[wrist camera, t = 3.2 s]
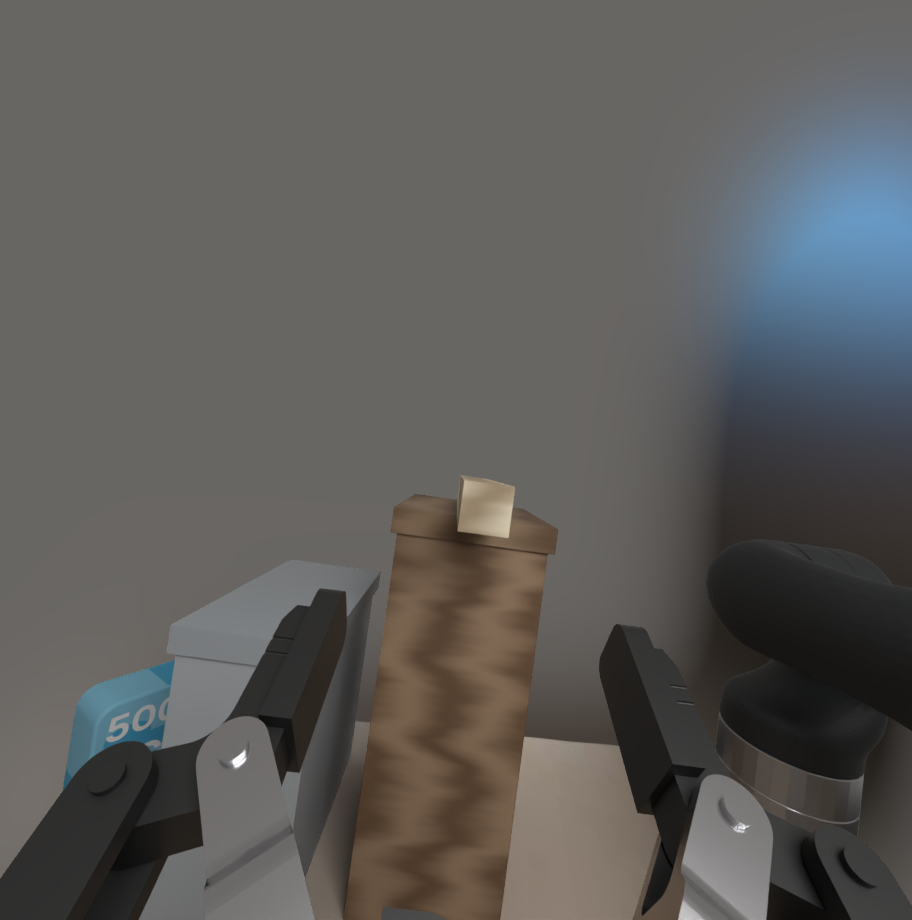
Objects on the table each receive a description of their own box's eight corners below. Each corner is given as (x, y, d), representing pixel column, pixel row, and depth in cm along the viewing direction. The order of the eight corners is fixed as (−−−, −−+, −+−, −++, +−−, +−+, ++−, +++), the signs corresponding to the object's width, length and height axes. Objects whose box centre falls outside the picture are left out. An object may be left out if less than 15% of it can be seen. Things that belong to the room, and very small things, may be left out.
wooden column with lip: (487, 778, 47) (522, 508, 48) (504, 946, 30) (558, 529, 31) (378, 763, 47) (415, 494, 48) (335, 922, 30) (393, 506, 31)
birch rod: (482, 505, 45) (486, 478, 45) (508, 538, 23) (515, 487, 23) (456, 501, 45) (460, 475, 45) (457, 531, 23) (464, 480, 23)
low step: (354, 753, 48) (380, 571, 48) (279, 965, 27) (325, 646, 28) (264, 741, 48) (291, 559, 49) (122, 943, 27) (170, 624, 28)
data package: (74, 858, 32) (97, 710, 33) (55, 826, 35) (77, 688, 35) (222, 772, 43) (239, 660, 43) (200, 752, 45) (216, 646, 45)
